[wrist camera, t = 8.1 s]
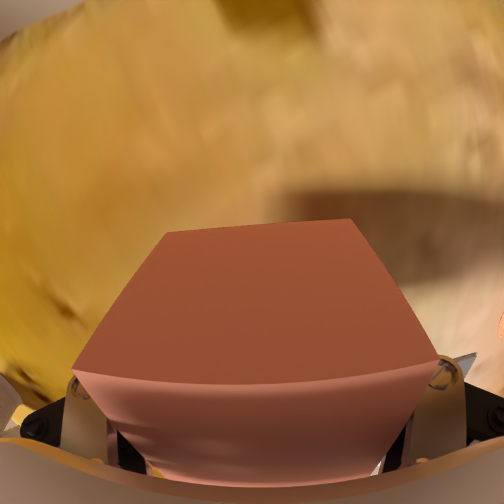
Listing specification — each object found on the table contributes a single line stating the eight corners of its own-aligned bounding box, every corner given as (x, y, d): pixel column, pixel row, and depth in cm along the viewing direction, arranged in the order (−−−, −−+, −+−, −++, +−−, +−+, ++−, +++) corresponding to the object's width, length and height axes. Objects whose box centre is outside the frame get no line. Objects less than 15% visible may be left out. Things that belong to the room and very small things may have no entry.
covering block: (350, 218, 9) (440, 359, 3) (339, 352, 11) (365, 480, 6) (166, 232, 9) (70, 368, 4) (201, 359, 12) (172, 484, 7)
